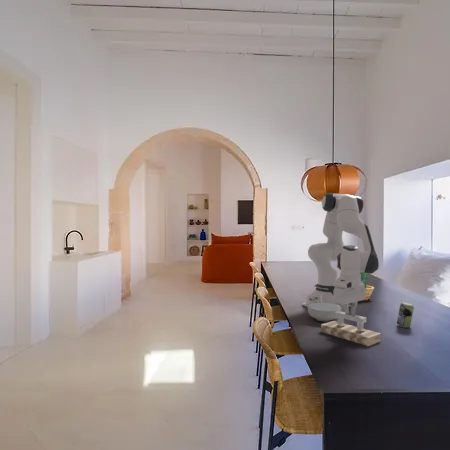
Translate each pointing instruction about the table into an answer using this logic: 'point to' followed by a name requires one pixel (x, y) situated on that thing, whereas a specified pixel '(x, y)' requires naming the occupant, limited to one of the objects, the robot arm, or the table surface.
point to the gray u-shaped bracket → (351, 318)
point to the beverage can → (405, 314)
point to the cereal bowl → (323, 311)
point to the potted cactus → (367, 288)
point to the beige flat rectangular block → (351, 333)
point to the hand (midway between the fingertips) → (350, 312)
